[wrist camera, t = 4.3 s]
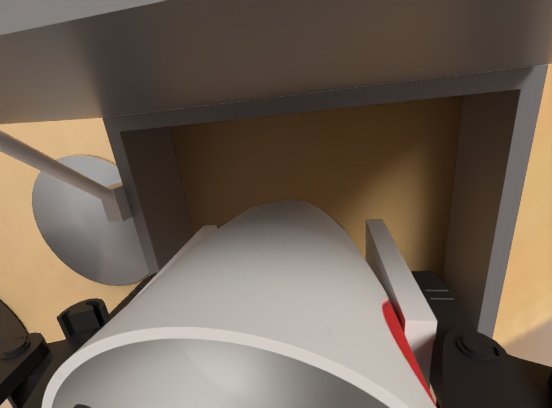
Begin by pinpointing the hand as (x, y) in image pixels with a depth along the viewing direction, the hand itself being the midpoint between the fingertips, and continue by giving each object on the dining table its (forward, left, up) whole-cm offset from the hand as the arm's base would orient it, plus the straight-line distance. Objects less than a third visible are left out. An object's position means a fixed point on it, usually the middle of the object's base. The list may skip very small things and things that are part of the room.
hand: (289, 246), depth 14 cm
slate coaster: (-17, -1, -6) cm, 19 cm away
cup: (0, 0, -1) cm, 1 cm away
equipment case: (+1, 0, -6) cm, 6 cm away
